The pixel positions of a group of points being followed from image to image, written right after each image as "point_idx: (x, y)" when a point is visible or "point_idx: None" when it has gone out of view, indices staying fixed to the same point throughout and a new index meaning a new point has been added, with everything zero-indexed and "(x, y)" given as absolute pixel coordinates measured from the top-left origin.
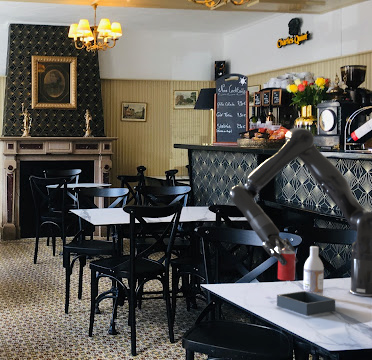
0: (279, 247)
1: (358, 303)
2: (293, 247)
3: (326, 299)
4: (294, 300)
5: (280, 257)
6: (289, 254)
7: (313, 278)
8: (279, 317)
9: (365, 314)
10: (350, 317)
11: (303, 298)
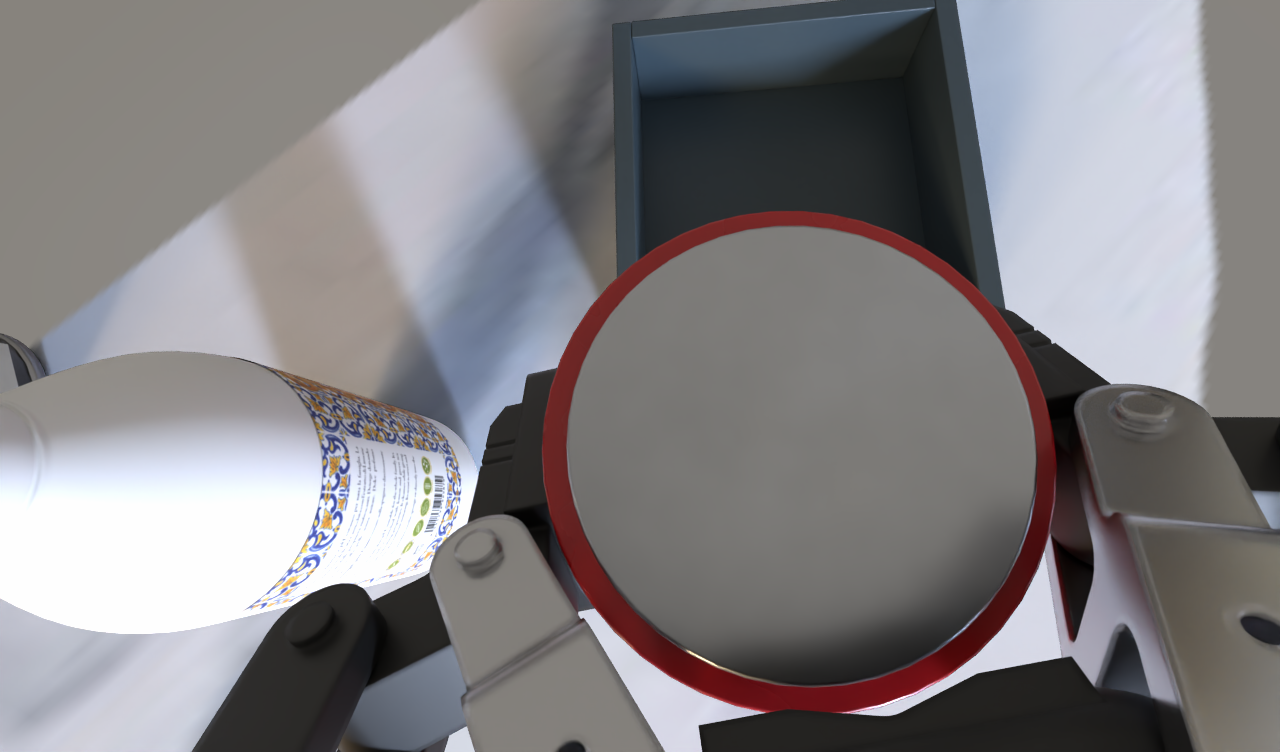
0: (1176, 549)
1: (252, 238)
2: (225, 702)
3: (633, 96)
4: (973, 112)
5: (1082, 364)
6: (884, 232)
7: (366, 411)
8: (1099, 153)
9: (456, 31)
10: (603, 11)
11: None
